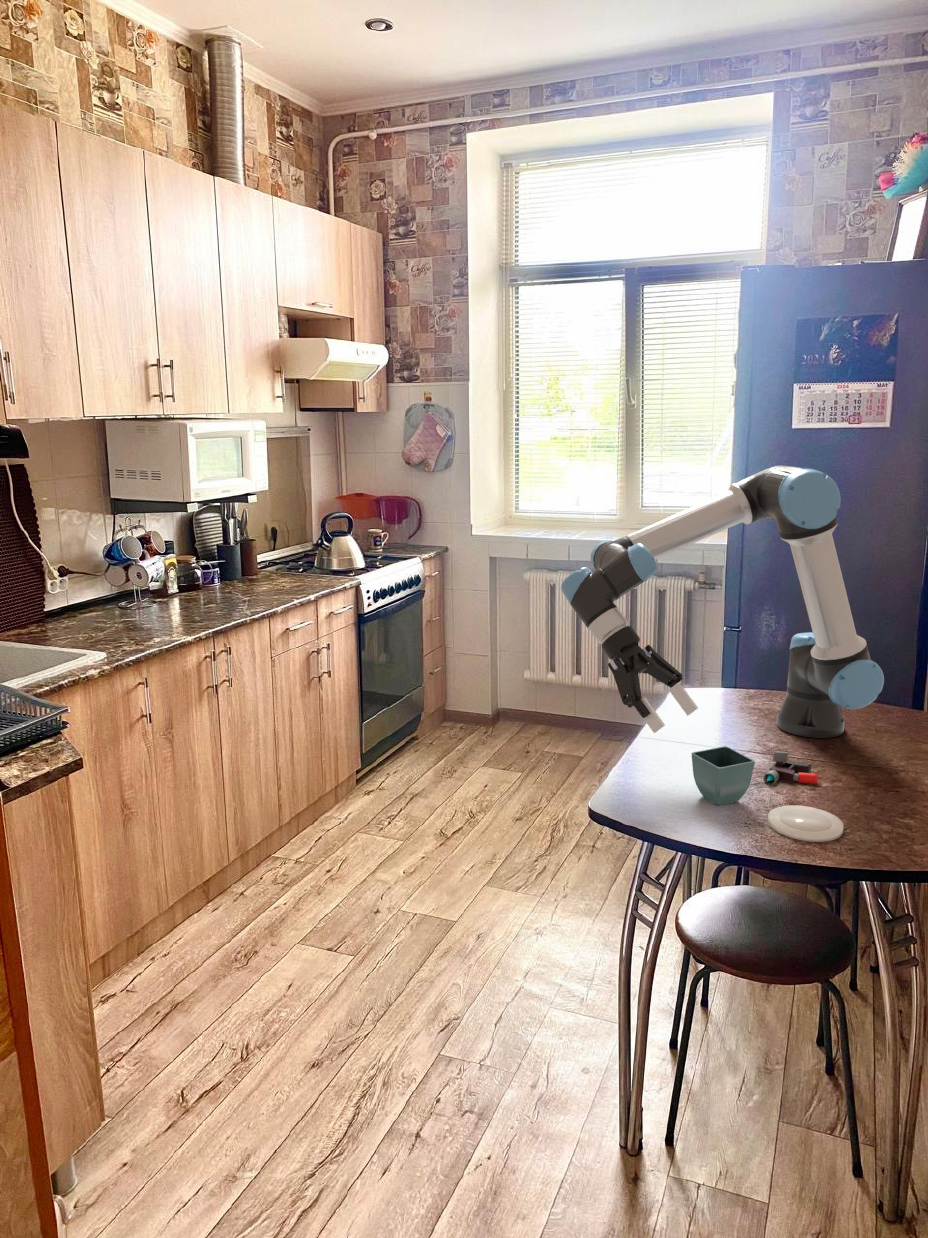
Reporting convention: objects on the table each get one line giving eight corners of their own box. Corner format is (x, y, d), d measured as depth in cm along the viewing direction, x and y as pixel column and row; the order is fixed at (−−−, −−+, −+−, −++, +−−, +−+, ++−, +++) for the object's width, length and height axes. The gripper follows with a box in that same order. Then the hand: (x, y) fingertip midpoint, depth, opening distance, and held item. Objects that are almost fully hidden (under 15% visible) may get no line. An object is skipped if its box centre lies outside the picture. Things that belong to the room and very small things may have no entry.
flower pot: (716, 812, 176) (719, 768, 174) (687, 794, 184) (690, 752, 182) (753, 804, 179) (756, 761, 177) (723, 787, 187) (726, 745, 185)
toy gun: (758, 784, 190) (760, 762, 188) (779, 766, 199) (781, 745, 198) (806, 796, 184) (808, 773, 183) (825, 777, 193) (827, 755, 192)
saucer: (810, 806, 178) (810, 800, 178) (859, 835, 166) (859, 829, 166) (753, 816, 174) (753, 810, 174) (798, 846, 162) (799, 840, 162)
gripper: (634, 634, 202) (693, 714, 196) (569, 657, 184) (631, 746, 178) (657, 614, 198) (718, 695, 191) (592, 635, 179) (657, 726, 173)
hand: (676, 720), depth 185 cm, fingers open, 13 cm apart
